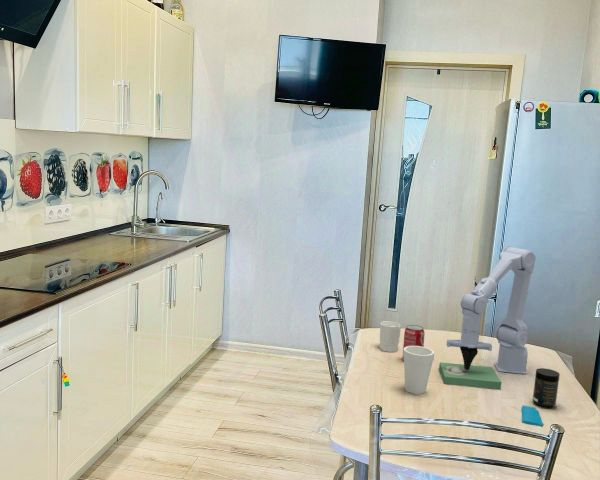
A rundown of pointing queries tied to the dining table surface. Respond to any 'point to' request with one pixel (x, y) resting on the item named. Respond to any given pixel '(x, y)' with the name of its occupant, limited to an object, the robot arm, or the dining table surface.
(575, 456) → the dining table surface
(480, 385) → the putting mat
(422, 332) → the soda can
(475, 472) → the dining table surface
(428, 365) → the foam cup
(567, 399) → the dining table surface
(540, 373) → the supplement container
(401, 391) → the dining table surface
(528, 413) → the sponge
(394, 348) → the white cup
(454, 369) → the ball
